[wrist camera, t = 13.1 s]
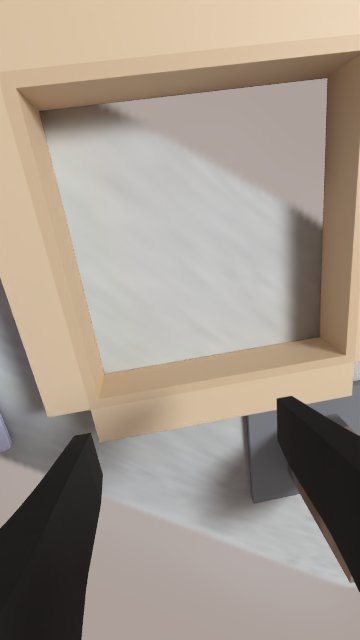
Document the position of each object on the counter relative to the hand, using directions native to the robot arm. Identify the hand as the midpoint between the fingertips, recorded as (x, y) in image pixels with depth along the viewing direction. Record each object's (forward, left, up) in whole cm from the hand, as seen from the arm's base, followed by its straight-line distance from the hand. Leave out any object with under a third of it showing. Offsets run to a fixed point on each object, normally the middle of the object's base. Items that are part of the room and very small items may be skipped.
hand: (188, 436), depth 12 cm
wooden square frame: (+3, +6, -9) cm, 12 cm away
